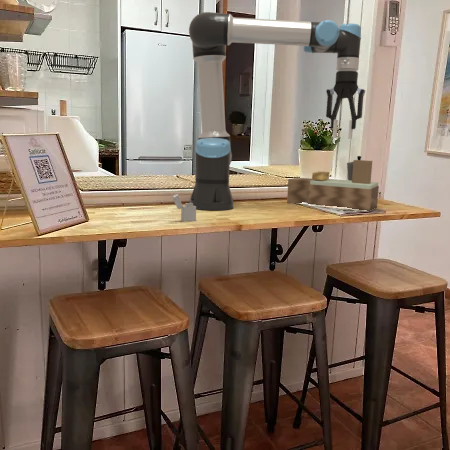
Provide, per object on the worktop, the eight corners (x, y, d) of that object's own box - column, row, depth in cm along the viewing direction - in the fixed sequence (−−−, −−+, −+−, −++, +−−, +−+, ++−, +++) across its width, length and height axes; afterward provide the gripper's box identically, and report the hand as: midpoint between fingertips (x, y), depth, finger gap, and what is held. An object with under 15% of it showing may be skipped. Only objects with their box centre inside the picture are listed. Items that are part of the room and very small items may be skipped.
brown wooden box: (284, 203, 189) (285, 179, 187) (297, 199, 201) (298, 177, 200) (369, 212, 175) (371, 186, 174) (376, 207, 188) (379, 183, 186)
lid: (309, 188, 184) (311, 158, 182) (320, 185, 196) (322, 157, 194) (370, 193, 174) (372, 162, 172) (377, 190, 186) (380, 160, 184)
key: (312, 179, 186) (312, 172, 185) (318, 177, 193) (318, 171, 192) (322, 180, 184) (323, 173, 184) (328, 178, 191) (329, 172, 191)
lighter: (193, 219, 151) (194, 193, 150) (196, 220, 150) (196, 194, 148) (171, 221, 148) (171, 193, 146) (173, 222, 146) (173, 194, 145)
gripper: (319, 70, 179) (314, 137, 183) (370, 69, 171) (365, 139, 175) (325, 72, 185) (320, 137, 190) (375, 71, 177) (369, 139, 182)
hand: (342, 138), depth 183 cm, fingers open, 5 cm apart
